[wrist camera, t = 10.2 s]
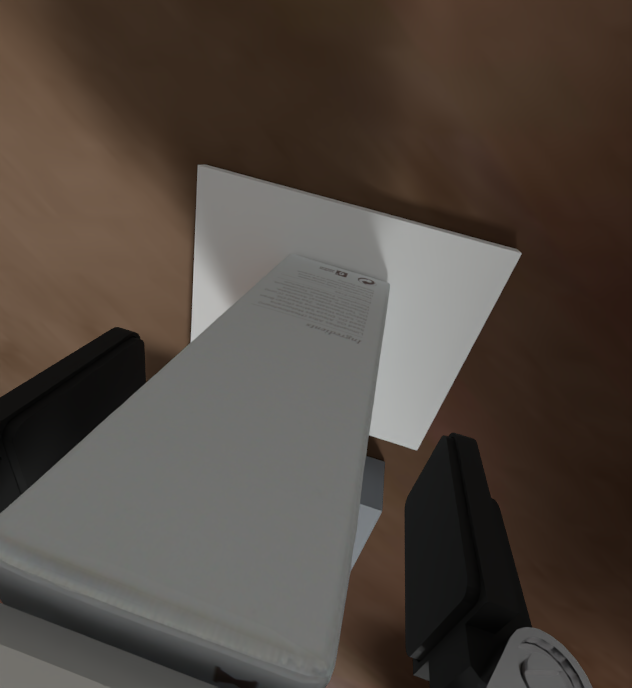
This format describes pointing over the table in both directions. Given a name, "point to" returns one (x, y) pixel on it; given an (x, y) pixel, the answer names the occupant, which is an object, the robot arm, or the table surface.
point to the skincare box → (218, 493)
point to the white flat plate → (363, 258)
